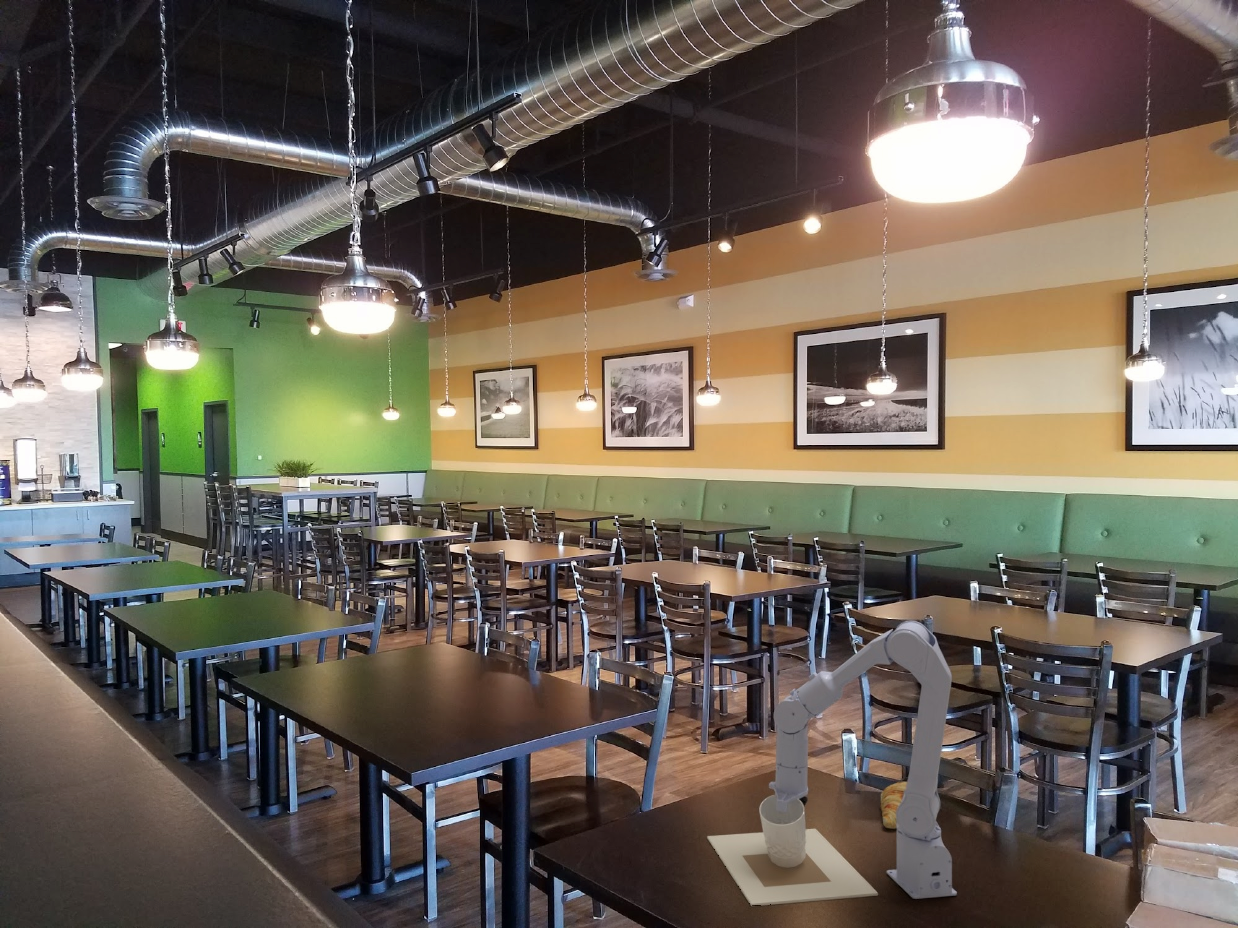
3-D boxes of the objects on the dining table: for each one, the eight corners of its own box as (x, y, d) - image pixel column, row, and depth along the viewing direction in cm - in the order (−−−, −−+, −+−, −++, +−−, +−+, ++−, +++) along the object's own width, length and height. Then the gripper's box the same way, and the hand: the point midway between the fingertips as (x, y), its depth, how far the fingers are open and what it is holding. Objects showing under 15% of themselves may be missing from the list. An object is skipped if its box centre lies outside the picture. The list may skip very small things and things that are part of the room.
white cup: (809, 871, 148) (804, 825, 145) (763, 869, 150) (757, 824, 147) (809, 838, 155) (804, 793, 152) (766, 836, 157) (760, 792, 154)
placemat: (877, 895, 141) (877, 892, 141) (751, 906, 137) (751, 903, 137) (815, 830, 167) (815, 828, 167) (707, 838, 163) (707, 836, 163)
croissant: (901, 854, 164) (920, 822, 162) (857, 818, 170) (875, 787, 167) (935, 817, 181) (953, 788, 179) (893, 785, 187) (910, 757, 184)
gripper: (779, 747, 164) (778, 817, 164) (759, 771, 150) (758, 848, 151) (816, 753, 161) (814, 824, 161) (799, 778, 148) (797, 856, 148)
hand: (789, 836), depth 155 cm, fingers closed, pressing on white cup
